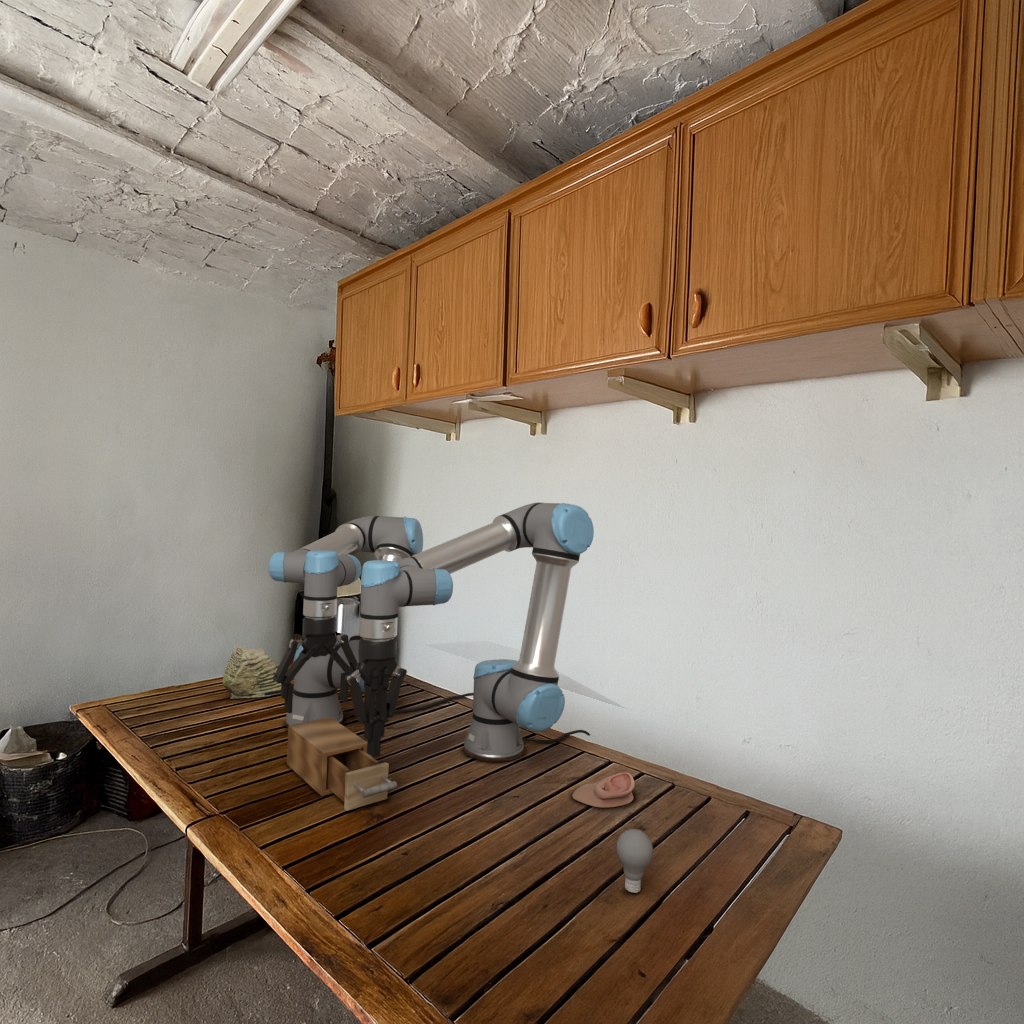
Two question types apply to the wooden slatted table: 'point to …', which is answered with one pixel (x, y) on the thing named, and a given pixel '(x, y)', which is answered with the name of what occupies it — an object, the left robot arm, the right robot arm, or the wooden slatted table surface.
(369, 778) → the drawer
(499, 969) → the wooden slatted table surface
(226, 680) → the fossil
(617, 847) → the light bulb
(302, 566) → the left robot arm
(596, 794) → the anatomical model
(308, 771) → the cabinet
